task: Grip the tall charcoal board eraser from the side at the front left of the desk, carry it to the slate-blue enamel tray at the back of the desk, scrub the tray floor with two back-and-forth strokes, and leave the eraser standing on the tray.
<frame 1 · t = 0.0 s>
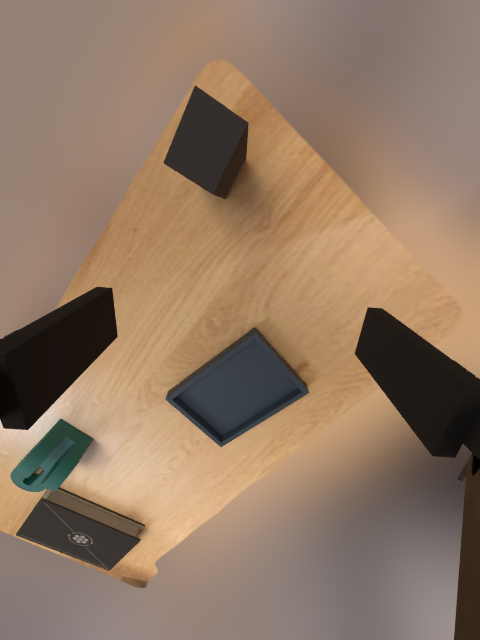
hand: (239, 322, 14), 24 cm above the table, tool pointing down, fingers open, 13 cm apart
bracket: (52, 453, 51), on the table
tray: (236, 388, 44), on the table
eraser: (221, 170, 32), on the table
book: (86, 521, 59), on the table
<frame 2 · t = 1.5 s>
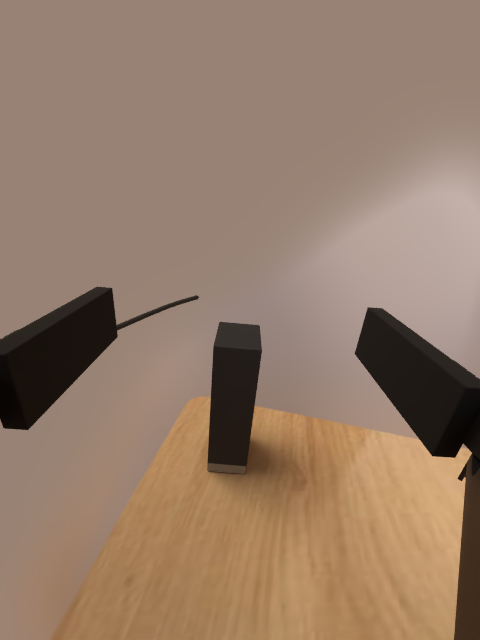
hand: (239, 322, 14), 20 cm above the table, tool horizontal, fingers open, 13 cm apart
eraser: (227, 452, 30), on the table
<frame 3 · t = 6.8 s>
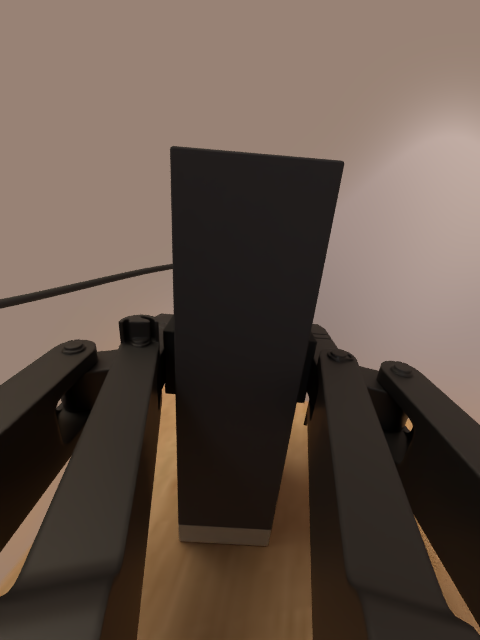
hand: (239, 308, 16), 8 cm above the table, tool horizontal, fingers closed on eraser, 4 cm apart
eraser: (226, 489, 14), on the table, touching gripper
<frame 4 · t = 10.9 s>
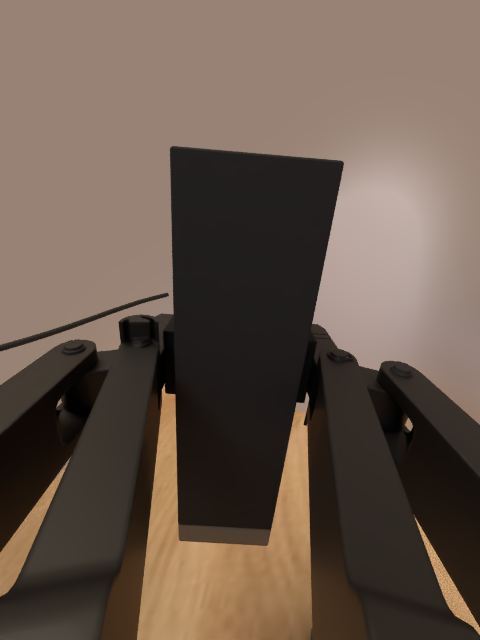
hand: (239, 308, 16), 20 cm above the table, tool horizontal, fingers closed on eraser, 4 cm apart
eraser: (226, 489, 14), point 12 cm above the table, touching gripper
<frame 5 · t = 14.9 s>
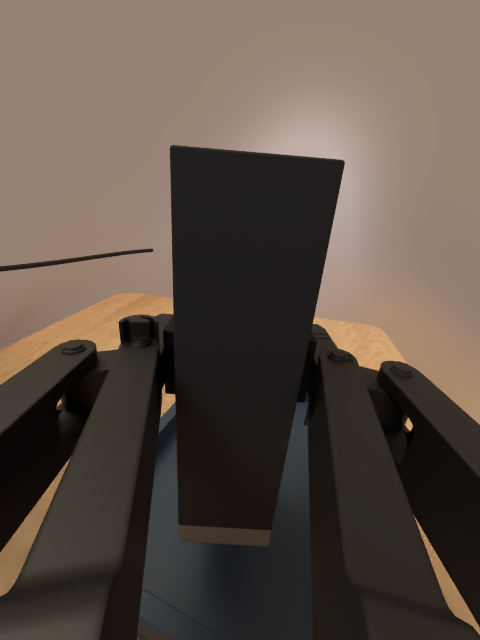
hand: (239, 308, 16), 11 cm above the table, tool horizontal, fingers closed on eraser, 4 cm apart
tray: (245, 467, 19), on the table
eraser: (226, 490, 14), point 3 cm above the table, touching gripper
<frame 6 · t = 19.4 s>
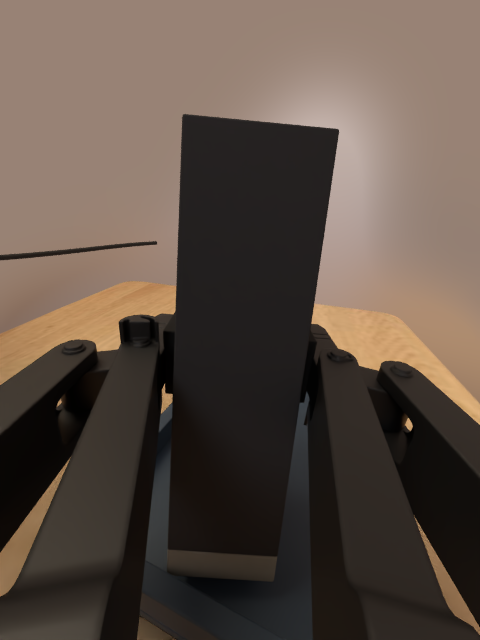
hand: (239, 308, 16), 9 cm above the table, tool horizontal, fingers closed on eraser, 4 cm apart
tray: (271, 449, 17), on the table
eraser: (224, 516, 12), point 1 cm above the table, tilted 11°, touching gripper
when the fingers open (9 cm above the table, at t = 23.0 s): eraser stays where it is, resting on tray.
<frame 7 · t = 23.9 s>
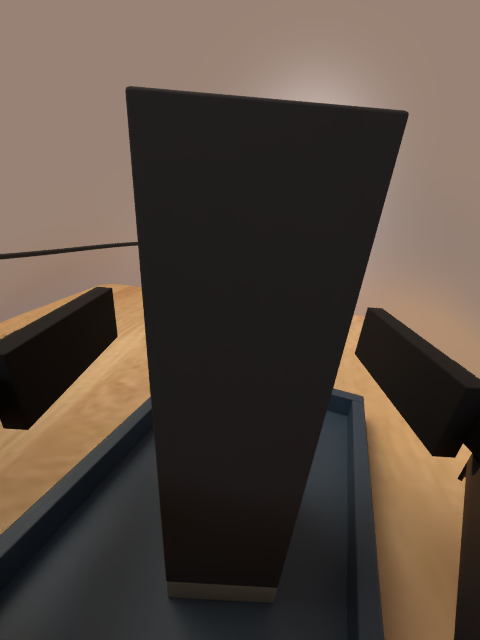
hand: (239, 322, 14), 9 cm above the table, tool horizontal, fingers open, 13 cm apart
tray: (226, 492, 14), on the table
eraser: (225, 526, 12), point 1 cm above the table, touching tray
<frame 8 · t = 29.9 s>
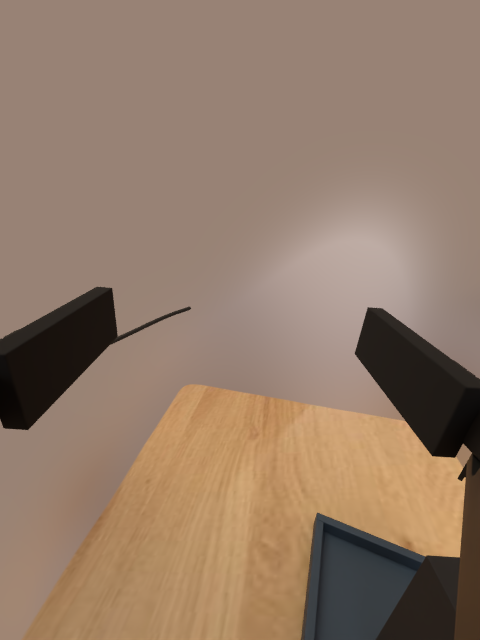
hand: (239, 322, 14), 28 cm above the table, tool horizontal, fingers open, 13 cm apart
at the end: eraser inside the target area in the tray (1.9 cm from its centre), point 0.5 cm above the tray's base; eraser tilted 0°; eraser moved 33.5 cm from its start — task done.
